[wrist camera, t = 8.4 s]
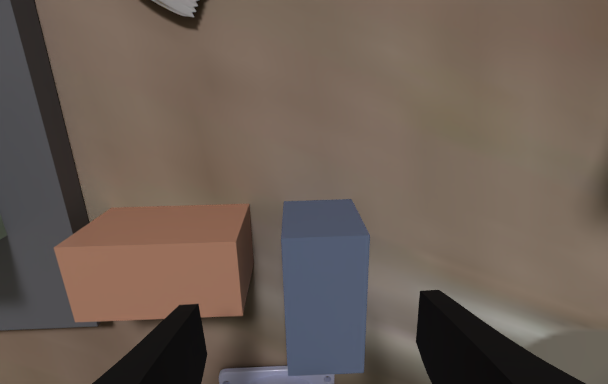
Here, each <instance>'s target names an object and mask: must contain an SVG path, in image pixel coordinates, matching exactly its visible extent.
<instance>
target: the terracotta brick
mask: <svg viewBox="0 0 608 384" xmlns="http://www.w3.org/2000/svg"><path fill="white" fill-rule="evenodd" d="M54 251H55V254H56V258H57V261H58V265H59V268H60V272H61V275H62V278H63V282H64V285H65V289H66V292H67V296H68V299H69V303H70V306H71V310H72V313H73V316H74V320H75V322H97V321H123V320H148V319H165V318H166V317H167V316H168V315H169V314H170V313H171V312H172V311H173V310H174V309H176V308H177V307H178V306H179V305H186V304H199V310H200V315H201V317H226V316H243V312H244V308H245V303H246V298H247V293H248V289H249V284H250V279H251V275H252V270H253V265H254V259H253V246H252V233H251V220H250V206H249V204H225V205H191V206H157V207H123V208H111V209H109V210H108V211H106V212H105V213H103V214H102V215H100V216H99V217H97V218H96V219H95V220H93V221H92V222H90V223H89V224H87V225H86V226H84V227H83V228H81V229H80V230H79V231H77V232H76V233H74V234H73V235H71V236H70V237H68V238H67V239H65V240H64V241H63V242H61V243H60V244H58V245H57V246H55V247H54Z"/></svg>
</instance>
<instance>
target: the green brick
mask: <svg viewBox="0 0 608 384" xmlns="http://www.w3.org/2000/svg"><path fill="white" fill-rule="evenodd" d="M5 236H7V232H6V230H5V227H4V224H3V221H2V218H1V215H0V239H2V238H4V237H5Z"/></svg>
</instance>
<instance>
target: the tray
mask: <svg viewBox="0 0 608 384" xmlns="http://www.w3.org/2000/svg"><path fill="white" fill-rule="evenodd" d="M0 215H1V218H2V221H3V224H4V227H5V230H6V232H7V236H5V237H4V238H2V239H0V330H21V329H45V328H69V327H93V326H98V325H99V324H100V323H101V321H97V322H75V320H74V316H73V313H72V310H71V306H70V303H69V299H68V296H67V292H66V289H65V285H64V282H63V278H62V275H61V272H60V268H59V265H58V261H57V258H56V254H55V251H54V247H55V246H57V245H58V244H60V243H61V242H63V241H64V240H65V239H67V238H68V237H70V236H71V235H73V234H74V233H76V232H77V231H79V230H80V229H81V228H83V227H84V226H86V225H87V224H89V221H88V217H87V213H86V209H85V205H84V201H83V197H82V193H81V188H80V184H79V180H78V176H77V172H76V168H75V164H74V160H73V156H72V152H71V148H70V144H69V140H68V136H67V132H66V128H65V124H64V120H63V116H62V112H61V108H60V104H59V100H58V96H57V92H56V88H55V84H54V80H53V76H52V72H51V68H50V64H49V60H48V56H47V51H46V47H45V43H44V39H43V35H42V31H41V27H40V23H39V19H38V15H37V11H36V7H35V3H34V0H0Z"/></svg>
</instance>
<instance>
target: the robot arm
mask: <svg viewBox="0 0 608 384" xmlns="http://www.w3.org/2000/svg"><path fill="white" fill-rule="evenodd" d="M416 343H417V346H418V349H419V352H420V355H421V358H422V361H423V363H424V366H425V369H426V371H427V374H428V376H429V378H430V380H431V382H432V384H585V383H584V382H581V381H580V380H578V379H576V378H574V377H572V376H570V375H569V374H567V373H565V372H563V371H562V370H560V369H558V368H556V367H554V366H553V365H551V364H549V363H547V362H545V361H544V360H542V359H540V358H539V357H537V356H535V355H534V354H532V353H531V352H529V351H527V350H526V349H524V348H523V347H521V346H519V345H518V344H516V343H515V342H513V341H512V340H510V339H509V338H507V337H506V336H504V335H502V334H501V333H499V332H498V331H497V330H495V329H494V328H492V327H491V326H489V325H488V324H486V323H485V322H483V321H482V320H481V319H479V318H478V317H476V316H475V315H474V314H472V313H471V312H469V311H468V310H467V309H465V308H464V307H462V306H461V305H460V304H458V303H457V302H456V301H454V300H453V299H451V298H450V297H448V296H447V295H446V294H444V293H443V292H441V291H440V290H429V291H420V298H419V311H418V323H417V336H416ZM206 358H207V351H206V345H205V339H204V333H203V327H202V321H201V315H200V310H199V304H186V305H179V306H178V307H177V308H176V309H174V310H173V311H172V312H171V313H170V314H169V315H168V316H167V317H166V318H165V319H164V320H163V321H162V322H161V323H160V324H159V325H158V326H157V327H156V328H155V329H153V330H152V331H151V332H150V333H149V334H148V335H147V336H146V337H145V338H144V339H143V340H142V341H141V342H140V343H139V344H137V345H136V346H135V347H134V348H133V349H132V350H131V351H130V352H129V353H128V354H126V355H125V356H124V357H123V358H122V359H121V360H120V361H118V362H117V363H116V364H115V365H114V366H113V367H111V368H110V369H109V370H108V371H107V372H106V373H104V374H103V375H102V376H101V377H100V378H99V379H97V380H96V381H95V382H94V383H92V384H201V382H202V377H203V373H204V368H205V363H206ZM326 376H329V377H326ZM226 381H229V382H226ZM219 384H334V374H326V375H304V376H288V366H270V367H248V368H226V369H223V370H221V371H220V374H219Z"/></svg>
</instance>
